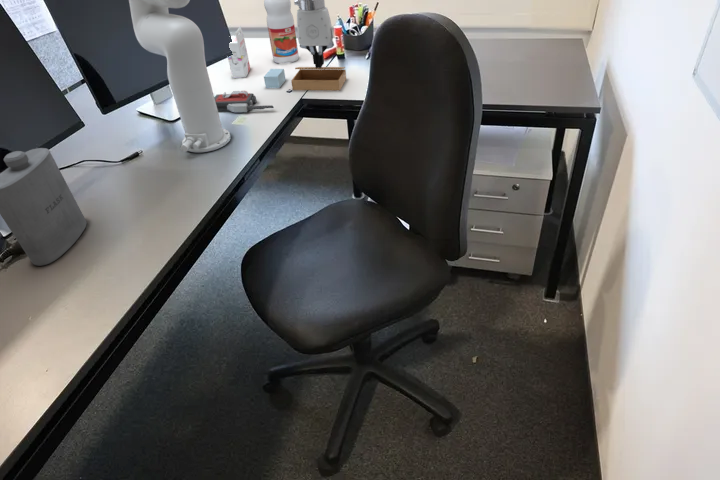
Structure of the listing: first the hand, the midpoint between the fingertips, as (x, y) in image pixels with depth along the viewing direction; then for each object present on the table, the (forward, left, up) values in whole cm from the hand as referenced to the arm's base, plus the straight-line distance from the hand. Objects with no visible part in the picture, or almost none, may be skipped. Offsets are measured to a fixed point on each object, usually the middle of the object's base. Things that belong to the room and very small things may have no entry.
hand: (319, 66), depth 154 cm
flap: (+1, 0, -1) cm, 1 cm away
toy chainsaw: (-20, +19, -6) cm, 28 cm away
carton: (-2, 0, -6) cm, 6 cm away
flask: (-86, +33, -6) cm, 92 cm away
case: (-1, +15, -6) cm, 16 cm away
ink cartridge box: (+8, +31, -6) cm, 33 cm away
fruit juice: (+22, +19, -6) cm, 30 cm away
